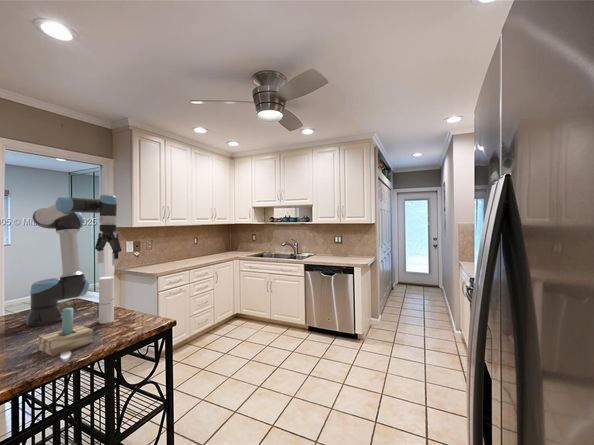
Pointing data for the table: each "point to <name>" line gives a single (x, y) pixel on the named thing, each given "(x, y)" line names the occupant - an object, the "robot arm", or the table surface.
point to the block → (65, 340)
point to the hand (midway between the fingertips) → (107, 264)
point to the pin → (67, 321)
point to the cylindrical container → (106, 299)
